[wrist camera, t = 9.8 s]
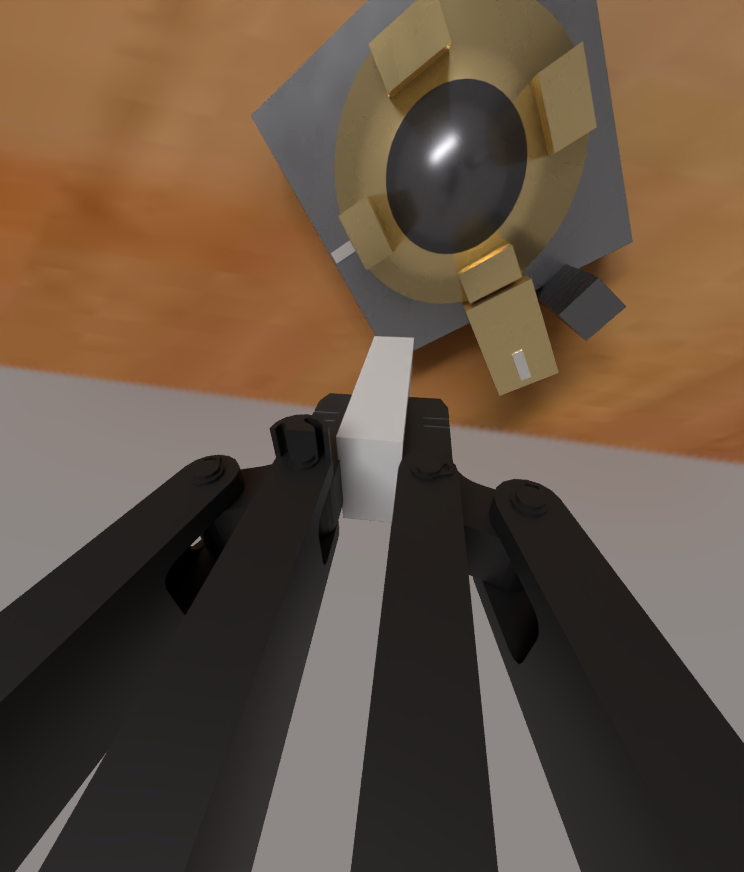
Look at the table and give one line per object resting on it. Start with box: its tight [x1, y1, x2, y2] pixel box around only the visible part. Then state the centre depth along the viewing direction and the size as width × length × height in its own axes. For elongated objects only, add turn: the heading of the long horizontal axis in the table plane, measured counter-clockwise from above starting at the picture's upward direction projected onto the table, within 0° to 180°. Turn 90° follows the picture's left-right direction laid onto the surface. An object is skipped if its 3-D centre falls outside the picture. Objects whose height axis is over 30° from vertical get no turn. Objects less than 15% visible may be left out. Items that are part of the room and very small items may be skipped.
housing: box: [251, 0, 633, 351], centre depth 16 cm, size 14×16×7 cm
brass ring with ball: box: [335, 0, 597, 396], centre depth 16 cm, size 15×10×4 cm, turn 30°
